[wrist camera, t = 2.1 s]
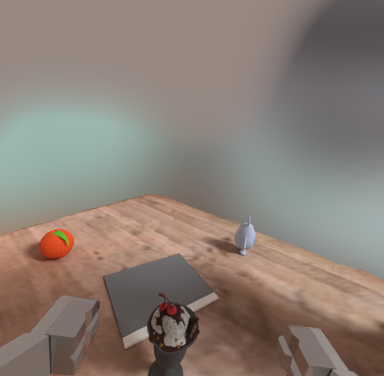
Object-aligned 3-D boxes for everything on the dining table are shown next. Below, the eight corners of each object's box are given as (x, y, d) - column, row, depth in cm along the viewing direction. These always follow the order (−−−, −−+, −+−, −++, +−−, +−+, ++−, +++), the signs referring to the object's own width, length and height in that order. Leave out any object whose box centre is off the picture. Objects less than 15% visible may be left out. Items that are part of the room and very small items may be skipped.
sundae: (135, 366, 28) (140, 285, 24) (174, 342, 32) (185, 268, 28) (153, 422, 23) (164, 332, 19) (197, 385, 27) (215, 304, 22)
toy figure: (251, 265, 54) (261, 228, 51) (230, 258, 56) (238, 222, 52) (251, 245, 64) (260, 213, 60) (233, 240, 65) (240, 209, 62)
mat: (179, 254, 54) (179, 253, 54) (218, 299, 41) (218, 297, 41) (103, 277, 43) (103, 276, 43) (125, 349, 30) (125, 347, 30)
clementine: (83, 254, 49) (82, 230, 47) (55, 270, 43) (53, 243, 41) (62, 244, 52) (61, 221, 50) (34, 258, 46) (30, 232, 44)
